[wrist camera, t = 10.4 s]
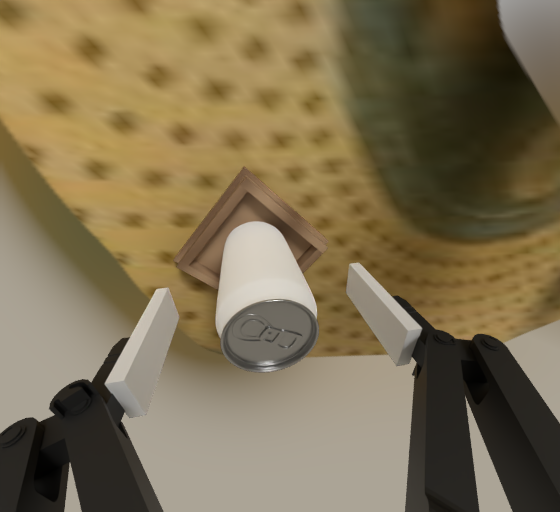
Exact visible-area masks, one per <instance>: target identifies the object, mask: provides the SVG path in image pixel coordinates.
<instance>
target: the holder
mask: <svg viewBox="0 0 560 512" xmlns="http://www.w3.org/2000/svg"><path fill="white" fill-rule="evenodd" d="M253 221H259V222H265V223H268V224H270V225H272V226H274V227H275V228H277V229H278V230H279V231H280V232H281V234H282V235H283V237H284V238H285V240H286V242H287V244H288V246H289V248H290V250H291V252H292V254H293V256H294V258H295V260H296V262H297V264H298V266H299V268H300V270H301V272H302V274H303V273H304V272H305V271H306V270H307V269H308V268H309V267H310V266H311V265H312V264H313V263H314V262H315V261H316V260H317V259H318V258H319V257H320V256H321V255H322V254H323V252H324V251H325V250H326V249H327V248H328V247H327V246H326V244H327V243H328V242H329V241H328V240H327V239H326V238H325V237H324V236H323V235H321V234H320V233H319V232H318V231H317V230H316V229H315V228H314V227H312V226H311V225H310V224H309V223H308V222H307V221H306V220H305V219H303V218H302V217H301V216H300V215H299V214H298V213H297V212H295V211H294V210H293V209H292V208H291V207H290V206H289V205H288V204H286V203H285V202H284V201H283V200H282V199H281V198H280V197H278V196H277V195H276V194H275V193H274V192H273V191H272V190H271V189H269V188H268V187H267V186H266V185H265V184H264V183H263V182H261V181H260V180H259V179H258V178H257V177H256V176H255V175H254V174H252V173H251V172H250V171H249V170H248V169H247V168H246V167H243V169H242V170H241V171H240V172H239V174H238V175H237V176H236V178H235V179H234V180H233V182H232V183H231V184H230V186H229V187H228V188H227V190H226V191H225V192H224V193H223V195H222V196H221V197H220V199H219V200H218V201H217V203H216V204H215V205H214V207H213V208H212V209H211V210H210V212H209V213H208V214H207V216H206V217H205V218H204V220H203V221H202V222H201V224H200V225H199V226H198V228H197V229H196V230H195V231H194V233H193V234H192V235H191V237H190V238H189V239H188V241H187V242H186V243H185V245H184V246H183V247H182V249H181V250H180V251H179V252H178V254H177V255H176V257H175V258H174V260H173V261H175V262H177V263H178V265H177V268H179V269H181V270H182V271H184V272H186V273H188V274H190V275H192V276H193V277H195V278H197V279H199V280H201V281H202V282H204V283H206V284H208V285H210V286H211V287H213V288H215V289H217V290H219V282H220V274H221V266H222V258H223V251H224V246H225V242H226V240H227V237H228V236H229V234H230V233H231V232H232V230H234V229H235V228H236V227H238V226H240V225H242V224H244V223H247V222H253Z"/></svg>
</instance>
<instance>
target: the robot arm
mask: <svg viewBox="0 0 560 512" xmlns="http://www.w3.org/2000/svg"><path fill="white" fill-rule="evenodd" d="M346 294H347V295H348V296H349V298H350V299H351V301H352V302H353V304H354V305H355V307H356V308H357V309H358V311H359V312H360V314H361V315H362V317H363V318H364V320H365V321H366V323H367V324H368V325H369V327H370V328H371V330H372V331H373V333H374V334H375V336H376V337H377V338H378V340H379V341H380V343H381V344H382V346H383V347H384V349H385V350H386V352H387V353H388V354H389V356H390V357H391V359H392V360H393V362H394V363H395V364H396V366H400V365H405V364H409V363H410V360H411V357H413V358H414V360H415V361H416V362H417V363H416V366H415V368H414V371H413V374H412V375H413V376H414V375H415V378H414V392H413V406H412V422H411V435H410V449H409V464H408V478H407V492H406V506H405V512H479V504H478V496H477V488H476V481H475V472H474V464H473V456H472V448H471V440H470V432H469V424H468V416H467V408H466V400H465V396H466V398H467V401H468V403H469V406H470V408H471V411H472V413H473V416H474V418H475V420H476V423H477V425H478V428H479V430H480V432H481V435H482V437H483V440H484V443H485V445H486V447H487V450H488V452H489V455H490V457H491V460H492V462H493V464H494V467H495V469H496V472H497V474H498V477H499V479H500V482H501V484H502V486H503V489H504V492H505V494H506V496H507V499H508V501H509V504H510V506H511V509H512V511H513V512H560V423H559V422H558V420H557V419H556V417H555V416H554V415H553V413H552V412H551V410H550V409H549V407H548V406H547V404H546V403H545V402H544V400H543V399H542V397H541V396H540V394H539V393H538V391H537V390H536V389H535V387H534V386H533V384H532V383H531V381H530V380H529V378H528V377H527V376H526V374H525V373H524V371H523V370H522V368H521V367H520V365H519V364H518V363H517V361H516V360H515V358H514V357H513V355H512V354H511V353H510V351H509V350H508V348H507V347H506V346H505V345H504V344H503V343H502V342H501V341H499V340H498V339H496V338H494V337H492V336H489V335H485V334H477V335H475V336H474V337H473V339H472V340H462V339H455V338H454V337H453V336H452V335H450V334H449V333H446V332H444V331H441V330H436V329H434V328H433V327H432V326H431V325H430V324H429V323H428V322H427V321H426V320H425V319H424V318H423V317H422V316H421V315H420V314H419V313H418V312H416V310H415V309H414V308H413V307H411V305H410V304H409V303H408V302H407V301H406V300H404V299H402V298H401V297H399V296H391V295H390V294H389V293H388V292H387V291H386V290H385V289H384V288H383V287H382V286H381V285H380V284H379V283H378V282H377V281H376V280H375V279H374V278H373V277H372V276H371V275H370V274H369V273H368V271H367V270H366V269H365V268H364V267H363V266H362V265H361V264H360V263H352V264H349V271H348V280H347V288H346ZM178 320H179V315H178V312H177V310H176V307H175V304H174V301H173V299H172V296H171V293H170V290H169V288H162V289H157V290H156V291H155V293H154V295H153V297H152V299H151V300H150V302H149V304H148V306H147V308H146V310H145V311H144V313H143V315H142V317H141V319H140V320H139V322H138V324H137V326H136V328H135V330H134V331H133V333H132V335H131V337H129V338H122V339H121V340H120V341H119V342H118V343H117V344H116V345H114V346H113V348H112V349H111V351H110V353H109V354H108V357H107V358H106V359H105V361H104V364H103V365H102V366H101V368H100V369H99V371H98V372H97V374H96V376H95V377H94V379H93V381H92V382H90V381H89V380H84V379H82V380H78V381H75V382H73V383H71V384H69V385H67V386H66V387H64V388H63V389H62V390H61V391H59V392H58V393H57V394H56V395H55V396H54V398H53V399H52V401H51V403H50V407H49V409H50V410H51V411H52V412H53V413H54V414H55V415H54V416H52V417H50V418H47V419H45V420H43V421H41V422H38V421H37V420H36V419H34V418H25V419H22V420H20V421H17V422H16V423H14V424H13V425H11V426H9V427H8V428H7V429H5V430H4V431H3V432H2V433H1V434H0V512H64V508H65V499H66V489H67V481H68V472H69V463H71V467H72V471H73V475H74V480H75V484H76V488H77V492H78V497H79V501H80V505H81V510H82V512H163V510H162V507H161V505H160V503H159V501H158V499H157V497H156V494H155V492H154V490H153V488H152V486H151V484H150V481H149V479H148V477H147V475H146V473H145V470H144V469H143V466H142V464H141V462H140V460H139V458H138V455H137V453H136V451H135V449H134V447H133V445H132V442H131V440H130V438H129V436H128V433H127V431H126V429H125V427H124V425H123V423H122V422H121V419H122V417H123V415H124V412H125V413H126V414H127V415H128V417H129V418H133V417H138V416H143V415H146V414H147V411H148V408H149V405H150V402H151V399H152V396H153V394H154V391H155V388H156V385H157V382H158V379H159V376H160V373H161V370H162V367H163V364H164V361H165V358H166V355H167V352H168V349H169V346H170V343H171V340H172V337H173V335H174V332H175V328H176V326H177V323H178Z"/></svg>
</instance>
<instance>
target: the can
mask: <svg viewBox="0 0 560 512" xmlns="http://www.w3.org/2000/svg"><path fill="white" fill-rule="evenodd" d="M216 329H217V332H218V335H219V337H220V339H221V349H222V352H223V354H224V356H225V357H226V358H227V360H228V361H229V362H230V363H232V364H233V365H235V366H237V367H239V368H240V369H243V370H246V371H251V372H272V371H278V370H281V369H284V368H287V367H290V366H292V365H294V364H295V363H297V362H299V361H300V360H302V359H303V358H304V357H305V356H306V355H307V354H308V353H309V352H310V351H311V350H312V349H313V347H314V346H315V344H316V342H317V339H318V335H319V325H318V321H317V306H316V302H315V299H314V297H313V295H312V292H311V290H310V288H309V286H308V284H307V282H306V280H305V278H304V276H303V274H302V272H301V270H300V268H299V266H298V264H297V262H296V260H295V258H294V256H293V254H292V252H291V250H290V248H289V246H288V244H287V242H286V240H285V238H284V237H283V235H282V234H281V232H280V231H279V230H278V229H277V228H275V227H274V226H272V225H270V224H268V223H265V222H259V221H253V222H247V223H244V224H242V225H240V226H238V227H236V228H235V229H234V230H232V232H231V233H230V234H229V236H228V237H227V240H226V242H225V246H224V251H223V258H222V266H221V274H220V282H219V290H218V298H217V307H216Z"/></svg>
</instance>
